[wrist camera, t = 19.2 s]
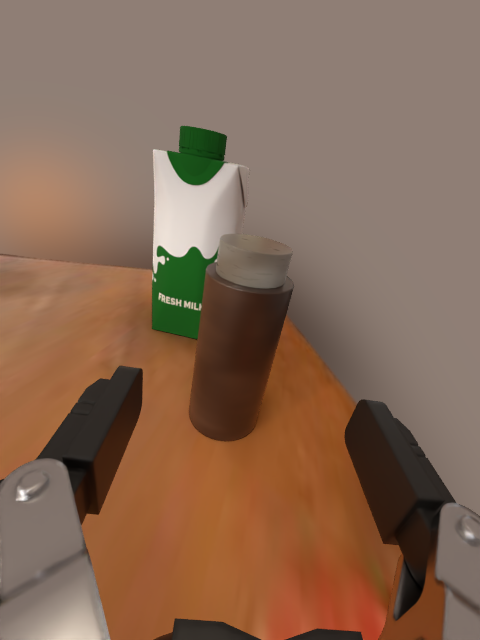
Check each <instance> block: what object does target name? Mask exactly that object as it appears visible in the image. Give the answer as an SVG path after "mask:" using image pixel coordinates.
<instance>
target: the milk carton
mask: <svg viewBox="0 0 480 640" xmlns="http://www.w3.org/2000/svg"><path fill="white" fill-rule="evenodd" d="M226 140H227V136H226V135H224V134H221V133H218V132H214V131H210V130H206V129H201V128H196V127H190V126H181V127H180V140H179V146H180V147H179V152H180V153H177V152H172V151H167V152H166V151H161V150H153V164H154V192H155V202H154V203H155V205H154V239H153V241H154V242H153V277H152V329H155V330H159V331H164V332H168V333H172V334H177V335H181V336H185V337H190V338H194V339H198V331H199V323H200V314H201V306H202V298H203V289H204V281H205V272H206V268H207V266H208V265H210V264H212V263H215V262H217V256H218V249H219V241H220V237H221V236H222V235H225V234H242V230H243V223H244V215H245V207H247V203H248V202H247V201H248V178H249V169H248V168H247V167H246V166H242V165H238V164H233V163H229V162H225V161H223V160H224V155H225V149H226Z"/></svg>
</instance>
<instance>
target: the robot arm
mask: <svg viewBox="0 0 480 640" xmlns="http://www.w3.org/2000/svg"><path fill="white" fill-rule="evenodd" d="M142 382H143V372H142V369H140V368H133V367H126V366H119V367H118V368H117V370H116V371H115V373H114V374H113V376H112V378H111V379H110V380H108V379H101V378H100V379H99V380H97V381H96V382H95V383H93V384H92V385H90V386H89V387H88V388H86V390H85V391H84V393H83V394H82V395H81V397H80V398H79V400H78V403H76V404H75V405H74V407H73V408H72V410H71V412H70V413H69V414H68V415H67V417H66V418H65V420H64V421H63V422H62V424H61V425H60V427H59V428H58V429H57V431H56V432H55V434H54V435H53V436H52V438H51V439H50V441H49V442H48V444H47V445H46V446H45V448H44V449H43V451H42V452H41V453H40V455H39V456H38V457H37V458H36V459H35V460H34V461H31V462H28V463H26V464H24V465H22V466H20V467H18V468H17V469H16V470H14V471H13V472H12V473H10V474H9V475H8V476H7V477H6V478H5V479H3V480H0V640H110V636H109V632H108V628H107V624H106V620H105V616H104V612H103V608H102V604H101V600H100V596H99V591H98V587H97V583H96V579H95V575H94V571H93V567H92V563H91V559H90V556H89V552H88V549H87V548H86V544H85V540H84V536H83V532H82V528H81V525H82V523H83V521H84V519H85V516H86V514H97V515H99V513H100V510H101V508H102V505H103V503H104V501H105V498H106V496H107V493H108V491H109V489H110V486H111V484H112V481H113V479H114V476H115V474H116V472H117V469H118V467H119V464H120V462H121V459H122V457H123V455H124V452H125V450H126V447H127V445H128V442H129V440H130V438H131V435H132V433H133V430H134V428H135V426H136V423H137V421H138V418H139V415H140V411H141V407H142ZM345 443H346V447H347V449H348V452H349V454H350V457H351V460H352V462H353V465H354V468H355V470H356V473H357V475H358V478H359V481H360V483H361V486H362V489H363V491H364V494H365V496H366V499H367V502H368V504H369V507H370V510H371V512H372V515H373V517H374V520H375V523H376V525H377V528H378V531H379V533H380V536H381V538H382V541H383V544H392V545H399V546H400V549H401V551H402V554H401V555H400V557H399V559H398V563H397V568H396V573H395V578H394V583H393V588H392V593H391V598H390V603H389V608H388V613H387V618H386V622H385V625H384V628H383V631H382V633H381V635H380V637H379V638H378V640H480V516H479V515H478V514H476V513H475V512H473V511H472V510H470V509H469V508H466V507H465V506H462V505H460V504H457V503H456V502H455V500H454V499H453V497H452V495H451V494H450V492H449V491H448V489H447V488H446V486H445V485H444V483H443V482H442V480H441V478H440V477H439V475H438V474H437V472H436V471H435V469H434V468H433V466H432V465H431V463H430V461H429V460H428V458H426V457H425V454H424V452H423V451H422V449H421V448H420V447H418V443H417V441H416V440H415V438H414V437H413V435H412V434H411V432H410V431H409V430H408V429H407V428H406V427H405V426H404V425H403V424H402V423H401V422H400V421H399V420H398V419H397V418H393V416H392V414H391V412H390V411H389V409H388V408H387V406H386V405H385V404H384V403H383V402H378V401H370V400H360V401H359V402H358V404H357V406H356V408H355V410H354V412H353V414H352V416H351V418H350V421H349V423H348V425H347V427H346V430H345ZM154 640H261V639H258V638H256V637H254V636H252V635H250V634H248V633H245V632H243V631H241V630H239V629H237V628H234V627H232V626H230V625H228V624H226V623H224V622H216V621H202V620H188V619H175V621H174V627H173V632H172V633H169V634H166V635H163V636H160V637H158V638H156V639H154ZM286 640H363V638H362V634H361V632H356V631H342V630H328V629H315V630H312V631H309V632H306V633H303V634H300V635H297V636H294V637H292V638H289V639H286Z"/></svg>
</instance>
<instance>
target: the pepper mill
mask: <svg viewBox="0 0 480 640" xmlns="http://www.w3.org/2000/svg"><path fill="white" fill-rule="evenodd" d="M292 252H293V251H292V249H291V248H290V247H288V246H287V245H284V244H282V243H280V242H277V241H274V240H271V239H267V238H263V237H258V236H252V235H245V234H225V235H222V236H221V237H220V241H219V249H218V256H217V262H215V263H212V264H210V265H208V266H207V268H206V272H205V281H204V289H203V298H202V306H201V314H200V323H199V331H198V339H197V348H196V356H195V365H194V373H193V381H192V390H191V398H190V406H189V416H190V419H191V422H192V424H193V425H194V427H195V428H196V429H197V430H198V431H199V432H201V433H202V434H203V435H205V436H207V437H209V438H212V439H215V440H220V441H233V440H238V439H241V438H243V437H245V436H246V435H248V434H249V433H250V432H251V431H252V430H253V429H254V427H255V425H256V422H257V418H258V415H259V411H260V407H261V404H262V400H263V396H264V393H265V389H266V386H267V382H268V378H269V375H270V371H271V367H272V364H273V360H274V357H275V353H276V349H277V346H278V342H279V338H280V335H281V331H282V328H283V324H284V320H285V317H286V313H287V309H288V306H289V302H290V299H291V295H292V291H293V288H294V284H293V281H292V280H291V279H290V278H289V277H288V276H287V272H288V268H289V264H290V260H291V256H292Z"/></svg>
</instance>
